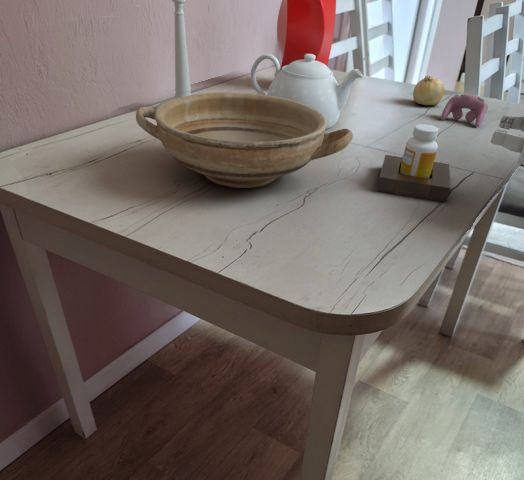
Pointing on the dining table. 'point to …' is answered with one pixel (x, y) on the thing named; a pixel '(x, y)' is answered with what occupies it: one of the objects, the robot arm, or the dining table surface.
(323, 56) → the vase
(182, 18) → the candlestick
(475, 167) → the dining table surface
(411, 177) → the socket
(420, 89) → the onion
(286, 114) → the ceramic bowl
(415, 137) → the supplement bottle
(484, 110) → the video game controller
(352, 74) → the teapot
